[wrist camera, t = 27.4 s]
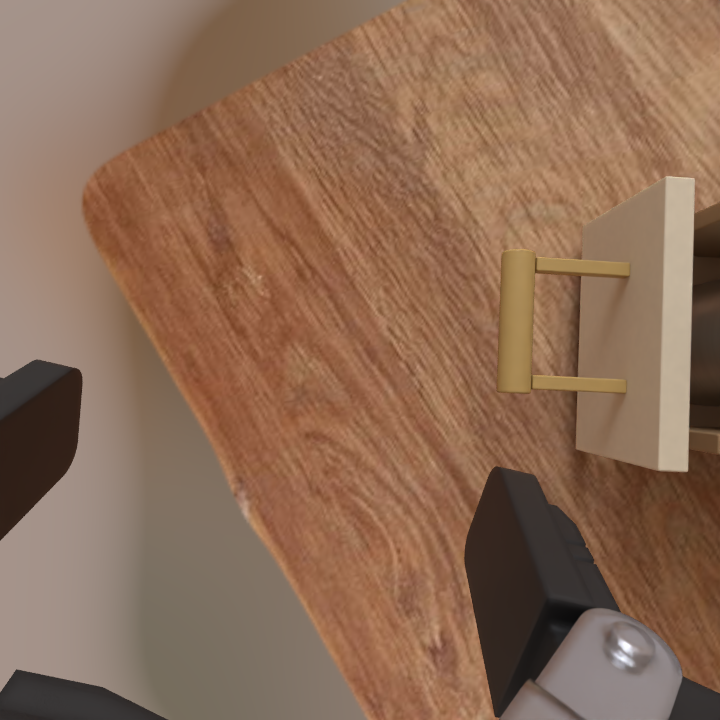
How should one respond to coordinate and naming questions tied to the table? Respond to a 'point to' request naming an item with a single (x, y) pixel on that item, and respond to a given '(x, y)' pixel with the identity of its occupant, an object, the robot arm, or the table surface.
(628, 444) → the drawer
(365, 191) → the table surface
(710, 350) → the cylinder
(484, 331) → the table surface
